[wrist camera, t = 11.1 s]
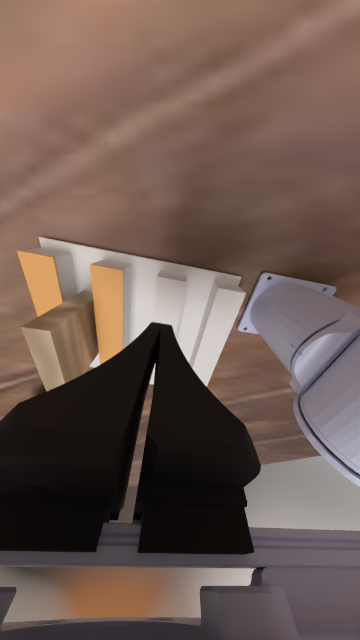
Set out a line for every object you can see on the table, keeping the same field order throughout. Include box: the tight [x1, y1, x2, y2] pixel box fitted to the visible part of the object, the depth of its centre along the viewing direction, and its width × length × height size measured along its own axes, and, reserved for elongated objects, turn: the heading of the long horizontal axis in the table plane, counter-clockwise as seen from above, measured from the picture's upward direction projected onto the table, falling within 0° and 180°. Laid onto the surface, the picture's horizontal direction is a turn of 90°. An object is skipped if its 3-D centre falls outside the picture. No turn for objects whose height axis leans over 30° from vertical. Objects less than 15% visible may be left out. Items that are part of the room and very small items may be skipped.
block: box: [21, 291, 99, 391], centre depth 16 cm, size 2×8×8 cm, turn 169°
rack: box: [17, 237, 246, 387], centre depth 20 cm, size 22×18×3 cm
